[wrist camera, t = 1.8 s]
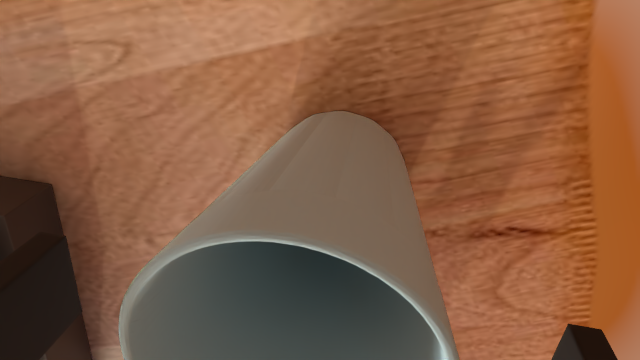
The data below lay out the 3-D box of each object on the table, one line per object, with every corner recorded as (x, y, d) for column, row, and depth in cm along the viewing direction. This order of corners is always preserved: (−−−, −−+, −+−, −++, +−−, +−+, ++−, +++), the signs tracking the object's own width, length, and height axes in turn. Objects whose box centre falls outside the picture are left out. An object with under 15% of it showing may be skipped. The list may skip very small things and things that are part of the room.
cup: (473, 181, 18) (542, 417, 9) (339, 273, 21) (289, 513, 12) (345, 41, 16) (269, 156, 7) (221, 164, 20) (62, 347, 11)
